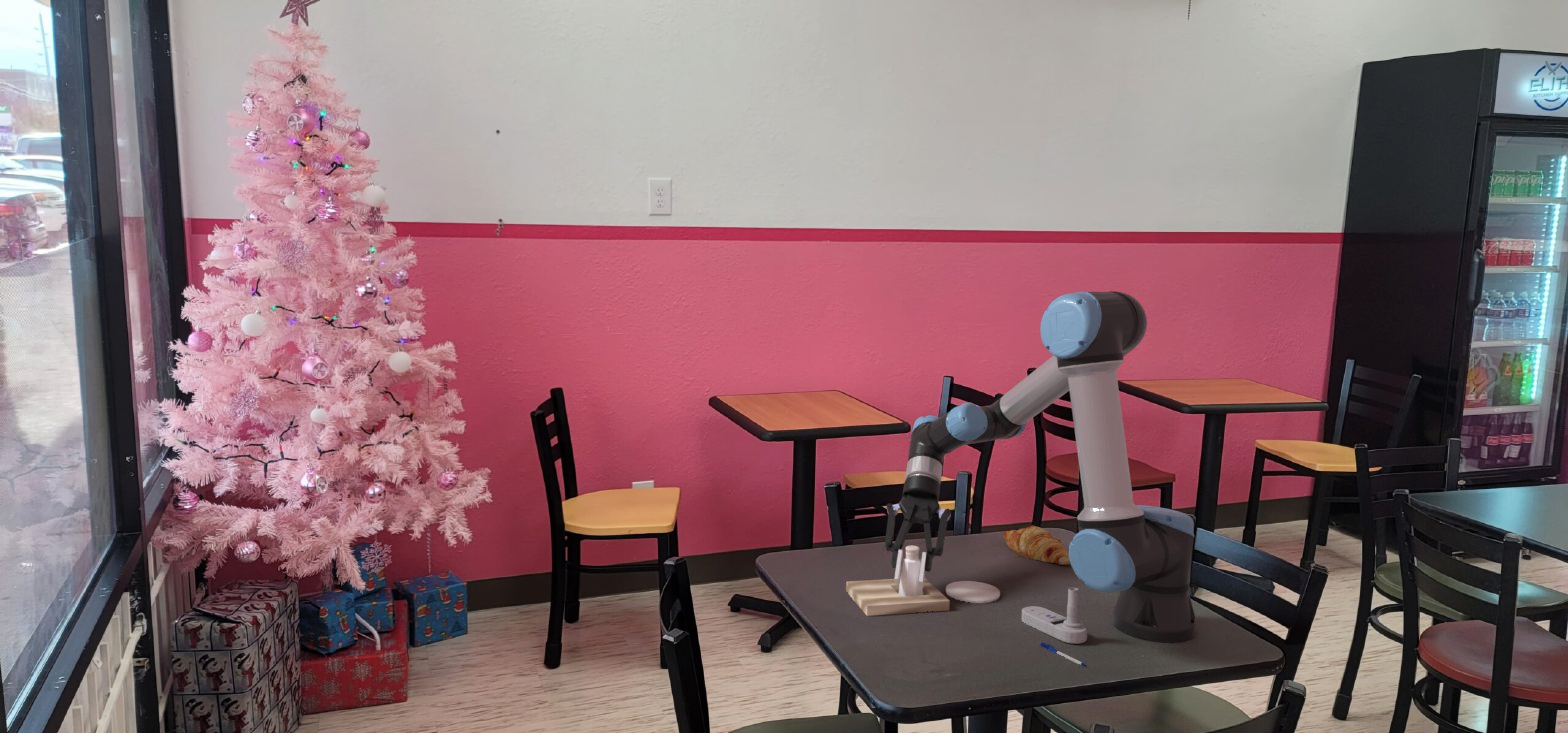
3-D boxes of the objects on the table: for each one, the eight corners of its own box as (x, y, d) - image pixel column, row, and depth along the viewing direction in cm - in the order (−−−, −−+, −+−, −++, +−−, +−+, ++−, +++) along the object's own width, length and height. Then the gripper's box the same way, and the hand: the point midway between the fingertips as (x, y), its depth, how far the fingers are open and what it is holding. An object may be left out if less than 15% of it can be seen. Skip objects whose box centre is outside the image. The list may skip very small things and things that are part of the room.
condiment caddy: (949, 610, 202) (949, 600, 201) (867, 615, 198) (867, 606, 197) (923, 586, 215) (923, 577, 215) (846, 591, 211) (846, 581, 211)
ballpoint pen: (1038, 647, 185) (1038, 641, 185) (1042, 646, 186) (1042, 640, 186) (1084, 668, 177) (1084, 663, 177) (1087, 667, 177) (1088, 661, 177)
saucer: (1009, 601, 207) (1009, 597, 207) (958, 605, 205) (958, 601, 205) (986, 583, 218) (986, 579, 218) (937, 586, 215) (937, 582, 215)
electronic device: (1038, 568, 200) (1094, 591, 187) (1036, 617, 201) (1093, 642, 188) (1017, 572, 197) (1073, 595, 184) (1015, 622, 198) (1071, 648, 185)
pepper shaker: (903, 605, 204) (905, 552, 202) (893, 596, 209) (895, 543, 208) (928, 603, 205) (930, 550, 204) (917, 594, 210) (919, 542, 209)
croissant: (1077, 581, 232) (1091, 548, 233) (1052, 567, 226) (1066, 534, 227) (1010, 553, 249) (1023, 523, 250) (984, 539, 244) (998, 509, 245)
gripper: (964, 495, 217) (953, 596, 204) (883, 488, 222) (867, 587, 208) (963, 476, 212) (951, 579, 198) (880, 470, 216) (864, 570, 202)
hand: (908, 583), depth 203 cm, fingers open, 4 cm apart
